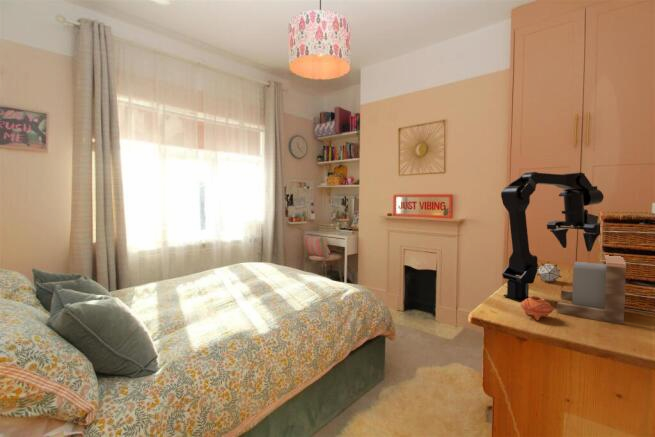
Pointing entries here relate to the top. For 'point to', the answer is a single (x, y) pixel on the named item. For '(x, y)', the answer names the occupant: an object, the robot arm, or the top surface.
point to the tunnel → (612, 295)
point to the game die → (548, 272)
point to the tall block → (589, 285)
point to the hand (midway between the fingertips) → (576, 249)
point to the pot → (536, 307)
